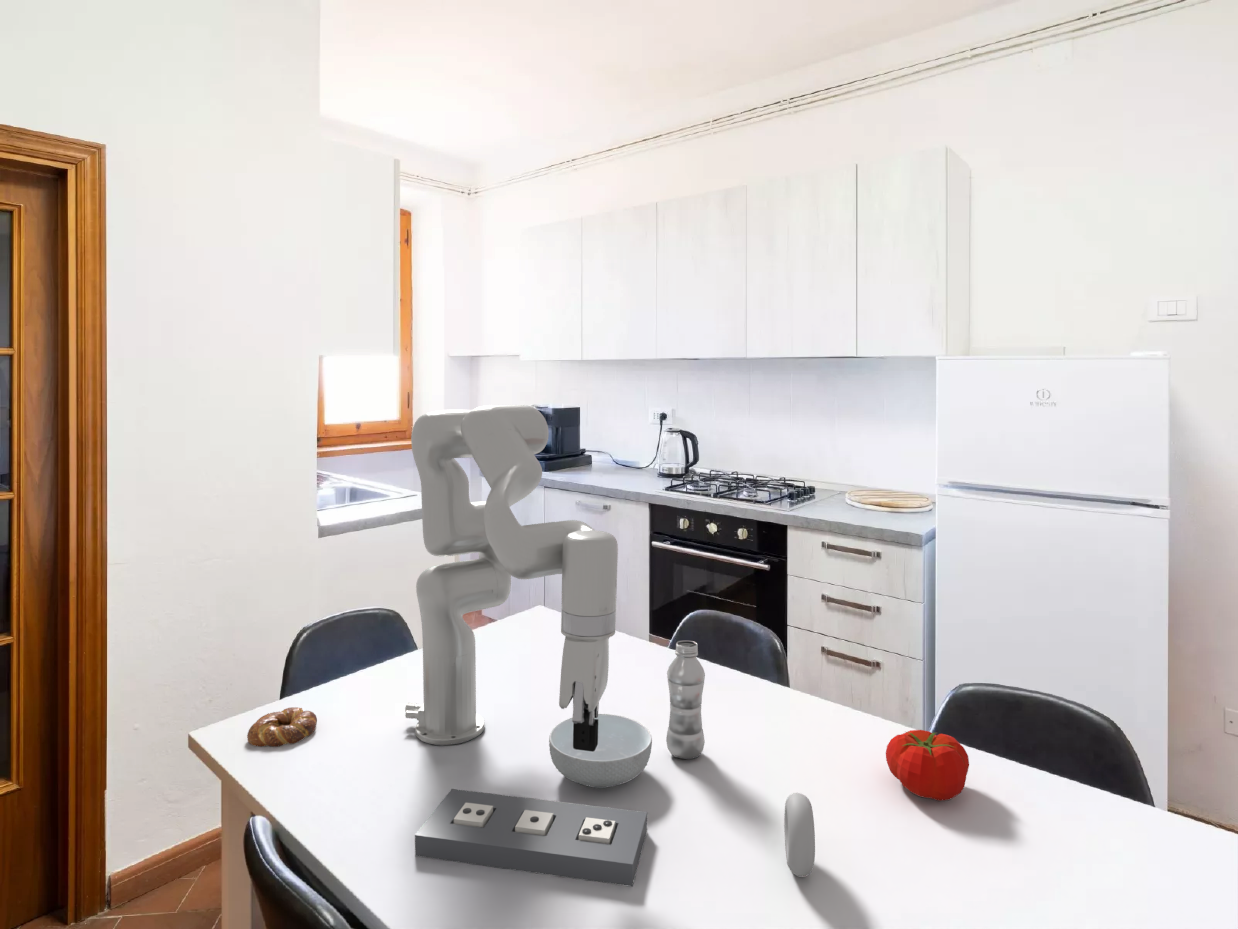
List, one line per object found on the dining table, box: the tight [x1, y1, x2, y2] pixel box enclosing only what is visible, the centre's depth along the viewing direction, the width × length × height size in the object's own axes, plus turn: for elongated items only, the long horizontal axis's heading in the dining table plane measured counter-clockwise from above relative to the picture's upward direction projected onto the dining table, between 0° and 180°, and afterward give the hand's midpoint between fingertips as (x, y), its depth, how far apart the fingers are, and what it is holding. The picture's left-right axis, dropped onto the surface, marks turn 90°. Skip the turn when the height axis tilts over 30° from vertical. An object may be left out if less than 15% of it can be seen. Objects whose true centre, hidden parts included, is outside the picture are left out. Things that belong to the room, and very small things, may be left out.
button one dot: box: [515, 810, 553, 836], centre depth 102 cm, size 4×4×3 cm
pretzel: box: [246, 706, 318, 748], centre depth 134 cm, size 12×11×4 cm
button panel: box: [414, 788, 648, 887], centre depth 102 cm, size 30×12×3 cm, turn 79°
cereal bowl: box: [548, 713, 653, 789], centre depth 120 cm, size 17×17×7 cm
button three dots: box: [579, 817, 615, 844], centre depth 100 cm, size 4×4×3 cm
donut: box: [783, 792, 816, 878], centre depth 97 cm, size 10×4×10 cm, turn 172°
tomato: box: [885, 729, 970, 802], centre depth 117 cm, size 14×13×9 cm
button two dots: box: [454, 803, 493, 828], centre depth 103 cm, size 4×4×3 cm
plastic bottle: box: [665, 640, 706, 760], centre depth 127 cm, size 6×7×20 cm
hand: (585, 747), depth 102 cm, fingers closed
